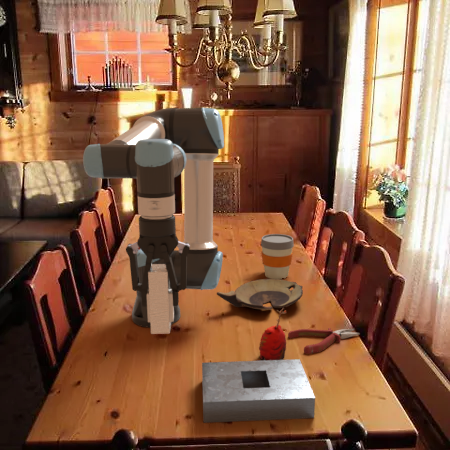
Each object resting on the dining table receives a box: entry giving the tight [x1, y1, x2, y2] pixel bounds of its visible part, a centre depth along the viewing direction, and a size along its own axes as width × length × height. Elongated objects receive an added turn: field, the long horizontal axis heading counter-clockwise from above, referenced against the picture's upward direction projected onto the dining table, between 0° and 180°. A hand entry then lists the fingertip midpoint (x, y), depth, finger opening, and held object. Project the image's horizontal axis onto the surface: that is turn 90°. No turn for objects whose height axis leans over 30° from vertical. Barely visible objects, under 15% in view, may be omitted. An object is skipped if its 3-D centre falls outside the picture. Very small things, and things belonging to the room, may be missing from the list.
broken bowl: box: [216, 278, 304, 311], centre depth 165 cm, size 22×30×8 cm
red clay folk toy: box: [258, 307, 287, 361], centre depth 130 cm, size 8×7×15 cm
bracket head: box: [201, 358, 316, 424], centre depth 113 cm, size 16×24×5 cm, turn 93°
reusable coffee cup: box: [260, 233, 295, 280], centre depth 190 cm, size 13×13×15 cm
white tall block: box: [148, 264, 172, 335], centre depth 106 cm, size 5×4×14 cm
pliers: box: [287, 327, 361, 355], centre depth 141 cm, size 12×20×3 cm, turn 110°
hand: (161, 319), depth 107 cm, fingers closed on white tall block, 4 cm apart
